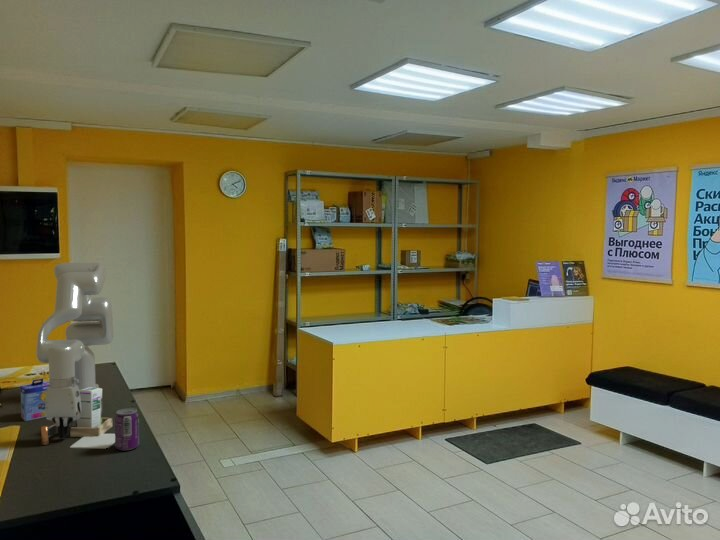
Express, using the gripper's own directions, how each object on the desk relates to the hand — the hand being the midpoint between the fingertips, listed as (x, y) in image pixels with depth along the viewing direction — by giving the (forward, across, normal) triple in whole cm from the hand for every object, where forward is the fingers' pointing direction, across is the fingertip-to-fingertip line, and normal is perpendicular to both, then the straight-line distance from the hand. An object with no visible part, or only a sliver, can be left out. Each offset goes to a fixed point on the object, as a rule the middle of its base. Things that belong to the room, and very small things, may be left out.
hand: (63, 436), depth 189 cm
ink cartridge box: (+1, +21, -23) cm, 31 cm away
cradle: (+1, -4, -8) cm, 10 cm away
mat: (+1, -11, +1) cm, 11 cm away
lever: (+1, +2, -4) cm, 5 cm away
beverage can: (+1, -23, +6) cm, 24 cm away
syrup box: (+1, -4, -8) cm, 10 cm away
